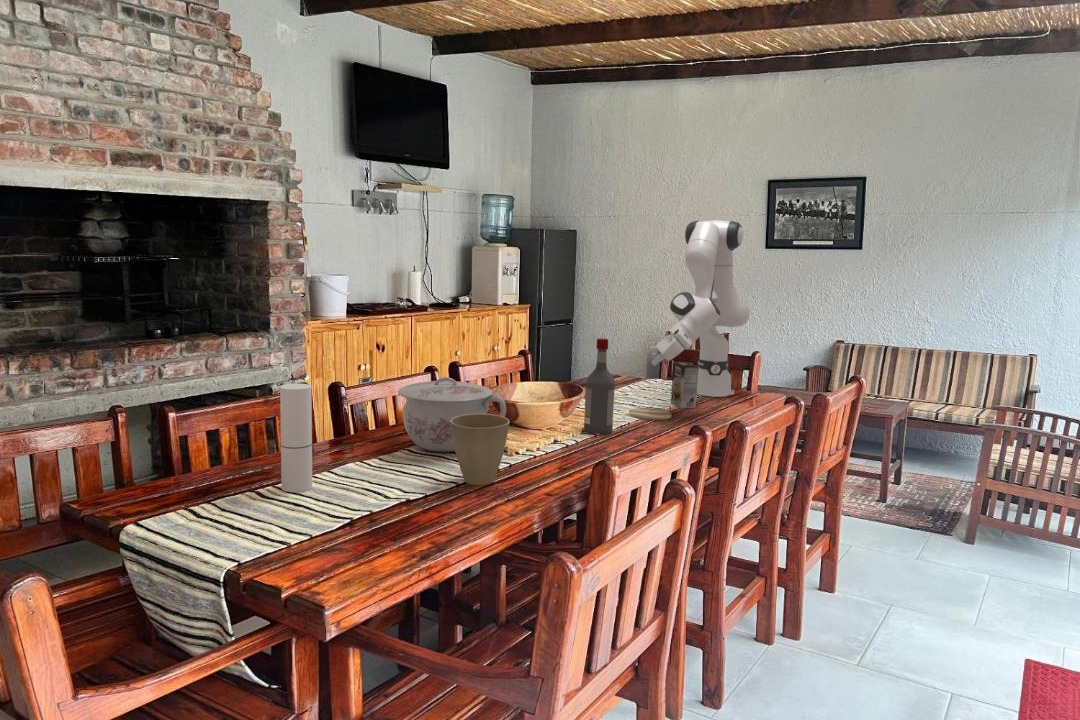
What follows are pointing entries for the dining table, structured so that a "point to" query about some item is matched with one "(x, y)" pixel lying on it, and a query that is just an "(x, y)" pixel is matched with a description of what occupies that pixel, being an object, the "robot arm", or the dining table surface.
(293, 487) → the cylindrical container
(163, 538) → the dining table surface
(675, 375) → the coffee box
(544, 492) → the dining table surface
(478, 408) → the chamber pot
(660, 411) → the trivet
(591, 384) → the liquor
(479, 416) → the plant pot
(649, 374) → the small gray bottle
